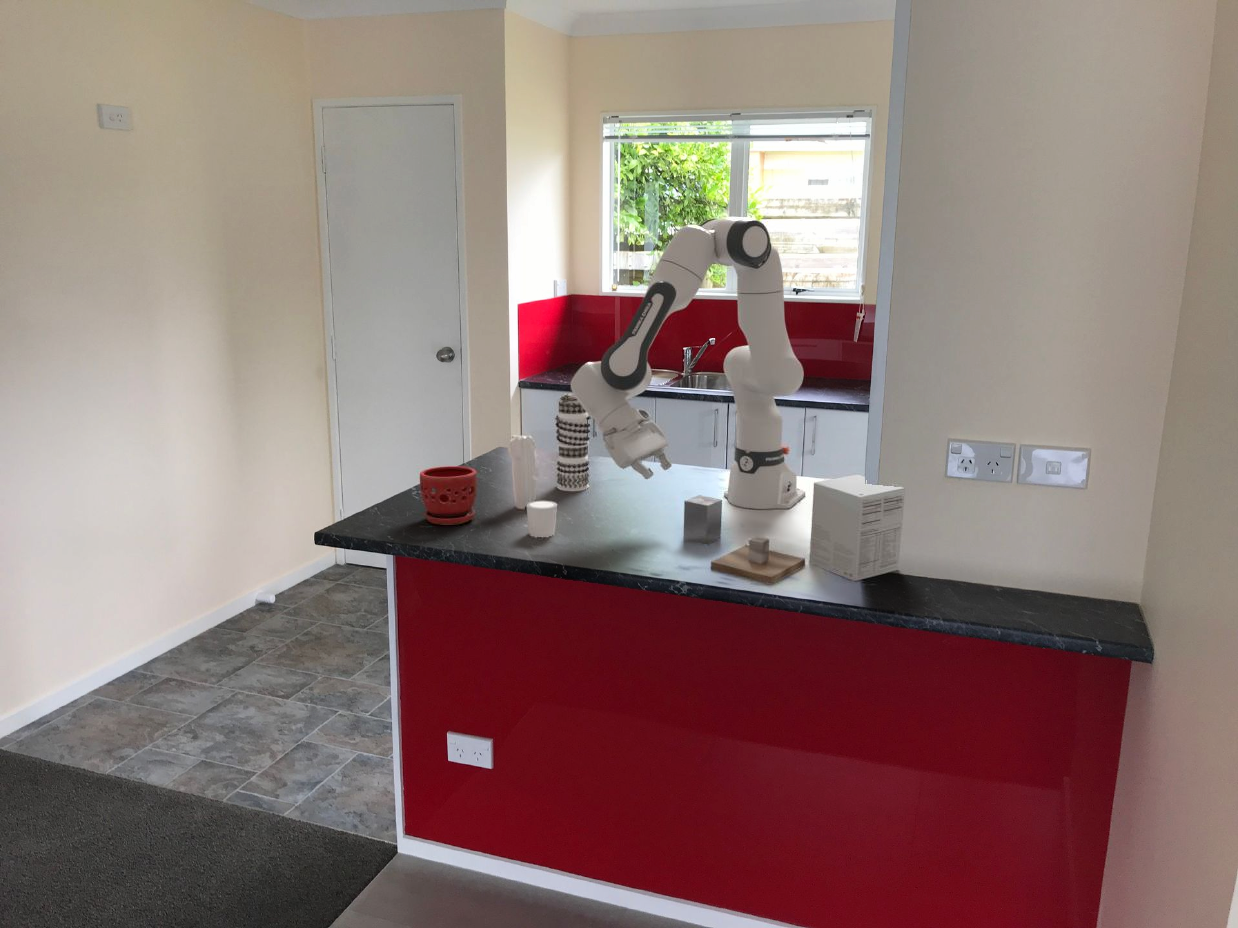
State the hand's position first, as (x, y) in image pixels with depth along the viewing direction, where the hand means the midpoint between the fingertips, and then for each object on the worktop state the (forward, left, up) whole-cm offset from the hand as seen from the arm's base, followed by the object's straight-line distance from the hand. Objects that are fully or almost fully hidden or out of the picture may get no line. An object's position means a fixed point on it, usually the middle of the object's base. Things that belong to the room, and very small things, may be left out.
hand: (659, 472), depth 218 cm
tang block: (+6, +30, -14) cm, 33 cm away
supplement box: (-7, +45, -14) cm, 47 cm away
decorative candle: (-17, -40, -14) cm, 46 cm away
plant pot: (+24, -43, -14) cm, 52 cm away
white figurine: (+5, -37, -14) cm, 40 cm away
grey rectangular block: (-2, +11, -14) cm, 18 cm away
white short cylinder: (+18, -19, -14) cm, 30 cm away
